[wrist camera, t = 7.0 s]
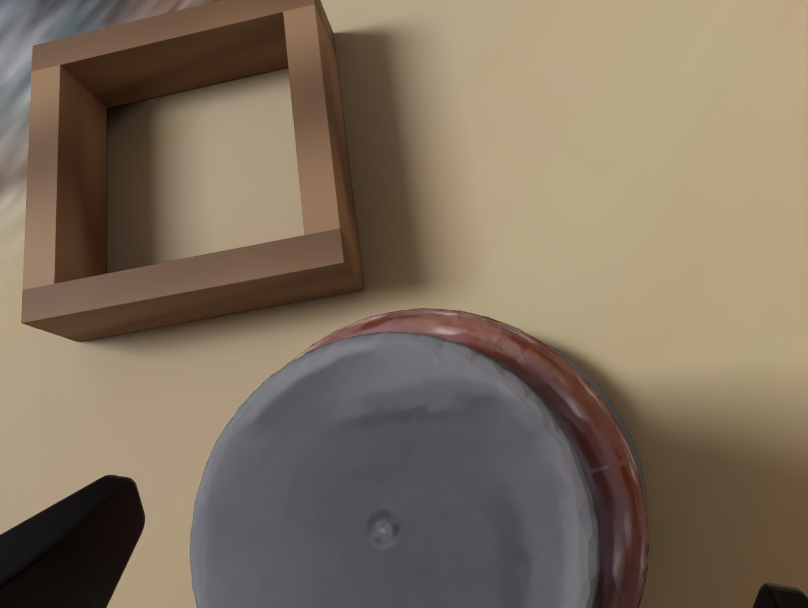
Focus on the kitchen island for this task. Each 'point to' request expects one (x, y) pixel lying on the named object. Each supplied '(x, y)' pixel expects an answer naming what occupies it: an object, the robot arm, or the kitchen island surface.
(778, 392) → the kitchen island surface
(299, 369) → the supplement bottle
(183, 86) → the pocket
